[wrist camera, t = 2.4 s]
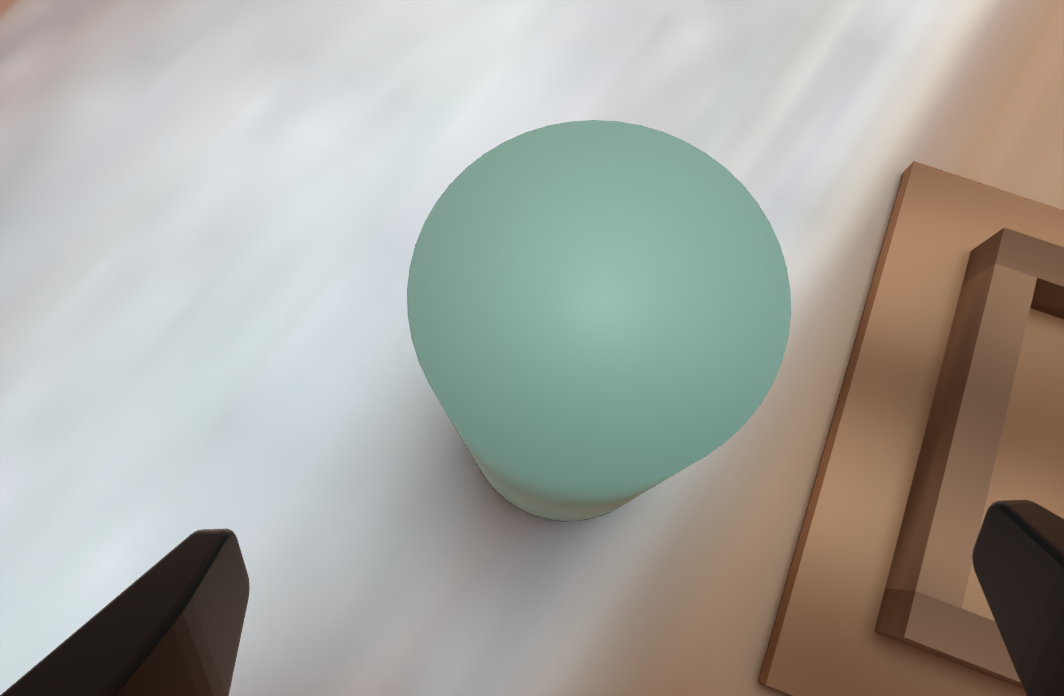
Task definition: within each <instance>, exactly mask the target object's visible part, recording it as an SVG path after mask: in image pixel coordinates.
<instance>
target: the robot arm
mask: <svg viewBox="0 0 1064 696" xmlns="http://www.w3.org/2000/svg"><path fill="white" fill-rule="evenodd" d="M972 561H973V567H974V571H975V574H976V576H977V578H978V581H979V583H980V586H981V588H982V591H983V593H984V595H985V598H986V600H987V603H988V605H989V608H990V610H991V612H992V615H993V617H994V620H995V622H996V625H997V627H998V629H999V632H1000V634H1001V637H1002V639H1003V641H1004V644H1005V646H1006V649H1007V651H1008V654H1009V656H1010V658H1011V661H1012V663H1013V666H1014V668H1015V671H1016V673H1017V675H1018V677H1019V679H1020V682H1021V684H1022V686H1023V688H1024V691H1025V693H1026V695H1027V696H1064V519H1063V518H1062V517H1060V516H1058V515H1056V514H1054V513H1053V512H1051V511H1049V510H1047V509H1046V508H1044V507H1042V506H1040V505H1039V504H1037V503H1035V502H1033V501H1029V500H1001V501H996V502H993V503H992V504H991V505H990V506H989V507H988V509H987V512H986V514H985V517H984V520H983V523H982V526H981V528H980V531H979V534H978V537H977V540H976V542H975V545H974V548H973V554H972ZM248 598H249V578H248V574H247V570H246V567H245V564H244V560H243V557H242V553H241V550H240V547H239V543H238V540H237V537H236V535H235V533H234V532H233V531H232V530H229V529H203V530H198V531H196V532H194V533H192V534H191V535H190V536H188V537H187V538H186V539H185V540H184V541H183V542H181V543H180V544H179V545H178V546H177V547H175V548H174V549H173V550H172V551H171V552H169V553H168V554H167V555H166V556H165V557H164V558H162V559H161V560H160V561H159V562H158V563H156V564H155V565H154V566H153V567H152V568H151V569H149V570H148V571H147V572H146V573H145V574H143V575H142V576H141V577H140V578H139V579H138V580H136V581H135V582H134V583H133V584H132V585H130V586H129V587H128V588H127V589H126V590H124V591H123V592H122V593H121V594H120V595H119V596H117V597H116V598H115V599H114V600H113V601H111V602H110V603H109V604H108V605H107V606H106V607H104V608H103V609H102V610H101V611H100V612H98V613H97V614H96V615H95V616H94V617H93V618H91V619H90V620H89V621H88V622H87V623H85V624H84V625H83V626H82V627H81V628H80V629H78V630H77V631H76V632H75V633H74V634H72V635H71V636H70V637H69V638H68V639H66V640H65V641H64V642H63V643H62V644H61V645H59V646H58V647H57V648H56V649H55V650H53V651H52V652H51V653H50V654H49V655H48V656H46V657H45V658H44V659H43V660H42V661H40V662H39V663H38V664H37V665H36V666H35V667H33V668H32V669H31V670H30V671H29V672H27V673H26V674H25V675H24V676H23V677H21V678H20V679H19V680H18V681H17V682H16V683H14V684H13V685H12V686H11V687H10V688H8V689H7V690H6V691H5V692H4V693H3V694H1V695H0V696H229V691H230V686H231V681H232V676H233V671H234V666H235V661H236V657H237V652H238V647H239V642H240V637H241V632H242V627H243V622H244V618H245V613H246V608H247V603H248Z"/></svg>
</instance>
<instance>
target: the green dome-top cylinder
mask: <svg viewBox="0 0 1064 696" xmlns="http://www.w3.org/2000/svg"><path fill="white" fill-rule="evenodd" d="M407 304H408V319H409V325H410V331H411V337H412V341H413V344H414V348H415V351H416V354H417V357H418V360H419V363H420V365H421V367H422V370H423V372H424V374H425V376H426V378H427V380H428V382H429V384H430V386H431V388H432V390H433V391H434V393H435V395H436V396H437V398H438V400H439V401H440V403H441V405H442V406H443V408H444V410H445V411H446V413H447V415H448V416H449V418H450V420H451V421H452V423H453V425H454V426H455V428H456V430H457V431H458V433H459V435H460V437H461V438H462V440H463V442H464V443H465V445H466V447H467V448H468V450H469V452H470V453H471V455H472V457H473V458H474V460H475V462H476V463H477V465H478V467H479V468H480V470H481V472H482V473H483V475H484V476H485V478H486V479H487V481H488V482H489V483H490V484H491V486H492V487H493V488H494V489H495V490H496V491H497V492H498V493H499V494H500V495H501V496H502V497H503V498H504V499H506V500H507V501H508V502H510V503H511V504H513V505H514V506H516V507H517V508H519V509H521V510H523V511H525V512H527V513H529V514H532V515H535V516H538V517H541V518H545V519H550V520H557V521H579V520H585V519H590V518H595V517H597V516H600V515H603V514H606V513H608V512H610V511H612V510H614V509H616V508H618V507H620V506H621V505H623V504H625V503H626V502H628V501H630V500H632V499H633V498H635V497H637V496H638V495H640V494H642V493H644V492H645V491H647V490H649V489H650V488H652V487H654V486H655V485H657V484H659V483H661V482H662V481H664V480H666V479H667V478H669V477H671V476H673V475H674V474H676V473H678V472H679V471H681V470H683V469H685V468H686V467H688V466H690V465H691V464H693V463H695V462H696V461H698V460H700V459H702V458H703V457H705V456H706V455H708V454H709V453H711V452H712V451H713V450H715V449H716V448H718V447H719V446H721V445H722V444H723V443H725V442H726V441H727V440H728V439H729V438H730V437H731V436H733V435H734V434H735V433H736V432H737V431H738V430H739V429H740V428H741V427H742V426H743V425H744V424H745V423H746V422H747V420H748V419H749V418H750V417H751V416H752V414H753V413H754V412H755V411H756V409H757V408H758V407H759V406H760V404H761V402H762V401H763V399H764V397H765V396H766V394H767V392H768V391H769V389H770V387H771V386H772V384H773V382H774V379H775V377H776V375H777V372H778V370H779V367H780V365H781V363H782V359H783V356H784V352H785V348H786V344H787V340H788V334H789V326H790V317H791V299H790V286H789V279H788V273H787V267H786V264H785V260H784V257H783V254H782V251H781V247H780V244H779V242H778V240H777V237H776V235H775V233H774V231H773V229H772V226H771V224H770V222H769V221H768V219H767V217H766V216H765V214H764V213H763V211H762V209H761V208H760V206H759V205H758V203H757V202H756V200H755V199H754V198H753V197H752V195H751V194H750V193H749V192H748V191H747V189H746V188H745V187H744V186H743V184H742V183H741V182H740V181H738V180H737V179H736V178H735V177H734V176H733V175H732V174H731V173H730V172H729V171H728V170H727V169H726V168H725V167H724V166H722V165H721V164H720V163H718V162H717V161H716V160H714V159H713V158H712V157H710V156H709V155H708V154H706V153H704V152H703V151H701V150H699V149H697V148H696V147H694V146H692V145H691V144H689V143H687V142H685V141H683V140H681V139H678V138H676V137H674V136H671V135H669V134H667V133H664V132H661V131H658V130H654V129H651V128H648V127H644V126H641V125H635V124H629V123H623V122H617V121H599V120H590V121H574V122H566V123H561V124H555V125H550V126H546V127H542V128H539V129H536V130H533V131H529V132H526V133H524V134H521V135H519V136H517V137H515V138H512V139H510V140H508V141H505V142H503V143H502V144H500V145H498V146H497V147H495V148H493V149H492V150H490V151H488V152H487V153H485V154H484V155H482V156H481V157H480V158H479V159H477V160H476V161H475V162H473V163H472V164H471V165H470V166H468V167H467V168H466V169H465V170H464V171H463V172H462V173H461V174H460V175H459V176H458V177H457V178H456V179H455V180H454V181H453V182H452V183H451V184H450V185H449V186H448V188H447V189H446V190H445V192H444V193H443V194H442V196H441V197H440V198H439V200H438V201H437V202H436V204H435V205H434V207H433V209H432V211H431V212H430V214H429V216H428V218H427V219H426V221H425V223H424V225H423V228H422V230H421V233H420V235H419V238H418V240H417V243H416V245H415V249H414V253H413V257H412V261H411V265H410V270H409V279H408V288H407Z"/></svg>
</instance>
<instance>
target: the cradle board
mask: <svg viewBox="0 0 1064 696" xmlns="http://www.w3.org/2000/svg"><path fill="white" fill-rule="evenodd" d="M1001 500H1029V501H1033V502H1035V503H1037V504H1039V505H1040V506H1042V507H1044V508H1046V509H1047V510H1049V511H1051V512H1053V513H1054V514H1056V515H1058V516H1060V517H1062V518H1063V519H1064V210H1061V209H1058V208H1055V207H1052V206H1049V205H1046V204H1043V203H1039V202H1036V201H1033V200H1030V199H1027V198H1024V197H1021V196H1018V195H1015V194H1012V193H1009V192H1006V191H1003V190H1000V189H997V188H994V187H991V186H988V185H985V184H982V183H979V182H976V181H973V180H970V179H967V178H963V177H960V176H957V175H954V174H951V173H948V172H945V171H942V170H939V169H936V168H933V167H930V166H927V165H924V164H921V163H918V162H915V161H914V162H913V163H912V164H911V165H910V166H909V167H908V168H907V169H906V170H905V171H904V173H903V176H902V180H901V183H900V187H899V190H898V194H897V197H896V201H895V204H894V208H893V211H892V215H891V218H890V222H889V225H888V229H887V232H886V236H885V239H884V243H883V246H882V250H881V253H880V257H879V260H878V264H877V267H876V271H875V274H874V278H873V281H872V285H871V288H870V292H869V295H868V299H867V302H866V306H865V309H864V313H863V316H862V320H861V323H860V327H859V330H858V334H857V337H856V341H855V344H854V348H853V351H852V355H851V358H850V362H849V365H848V369H847V372H846V376H845V379H844V383H843V386H842V390H841V393H840V397H839V400H838V404H837V407H836V411H835V414H834V418H833V421H832V425H831V428H830V432H829V435H828V439H827V442H826V446H825V449H824V453H823V456H822V460H821V463H820V467H819V470H818V474H817V477H816V481H815V484H814V488H813V491H812V495H811V498H810V502H809V505H808V509H807V512H806V516H805V519H804V523H803V526H802V530H801V533H800V537H799V540H798V544H797V547H796V551H795V554H794V558H793V561H792V565H791V568H790V572H789V575H788V579H787V582H786V586H785V589H784V593H783V596H782V600H781V603H780V607H779V610H778V614H777V617H776V621H775V624H774V628H773V631H772V635H771V638H770V642H769V645H768V649H767V652H766V656H765V659H764V663H763V666H762V670H761V673H760V677H759V680H758V681H759V682H761V683H763V684H765V685H767V686H770V687H772V688H775V689H777V690H780V691H782V692H785V693H787V694H790V695H792V696H1027V695H1026V693H1025V691H1024V688H1023V686H1022V684H1021V682H1020V679H1019V677H1018V675H1017V673H1016V671H1015V668H1014V666H1013V663H1012V661H1011V658H1010V656H1009V654H1008V651H1007V649H1006V646H1005V644H1004V641H1003V639H1002V637H1001V634H1000V632H999V629H998V627H997V625H996V622H995V620H994V617H993V615H992V612H991V610H990V608H989V605H988V603H987V600H986V598H985V595H984V593H983V591H982V588H981V586H980V583H979V581H978V578H977V576H976V574H975V571H974V567H973V561H972V554H973V548H974V545H975V542H976V540H977V537H978V534H979V531H980V528H981V526H982V523H983V520H984V517H985V514H986V512H987V509H988V507H989V506H990V505H991V504H992V503H993V502H996V501H1001Z"/></svg>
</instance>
